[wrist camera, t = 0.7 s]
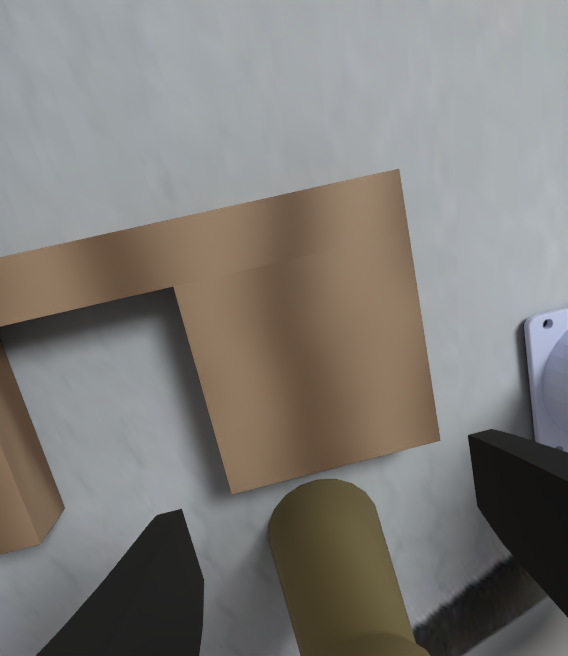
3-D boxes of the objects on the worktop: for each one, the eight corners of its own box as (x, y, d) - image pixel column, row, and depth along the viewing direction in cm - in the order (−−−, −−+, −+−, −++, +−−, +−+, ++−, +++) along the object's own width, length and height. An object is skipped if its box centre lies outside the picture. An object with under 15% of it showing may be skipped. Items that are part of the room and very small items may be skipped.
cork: (352, 459, 21) (463, 674, 11) (395, 547, 23) (534, 819, 12) (248, 511, 21) (253, 779, 11) (297, 596, 23) (347, 912, 12)
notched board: (378, 178, 19) (399, 168, 16) (417, 418, 21) (440, 440, 19) (-116, 288, 18) (-174, 296, 15) (-12, 527, 20) (-47, 566, 18)
